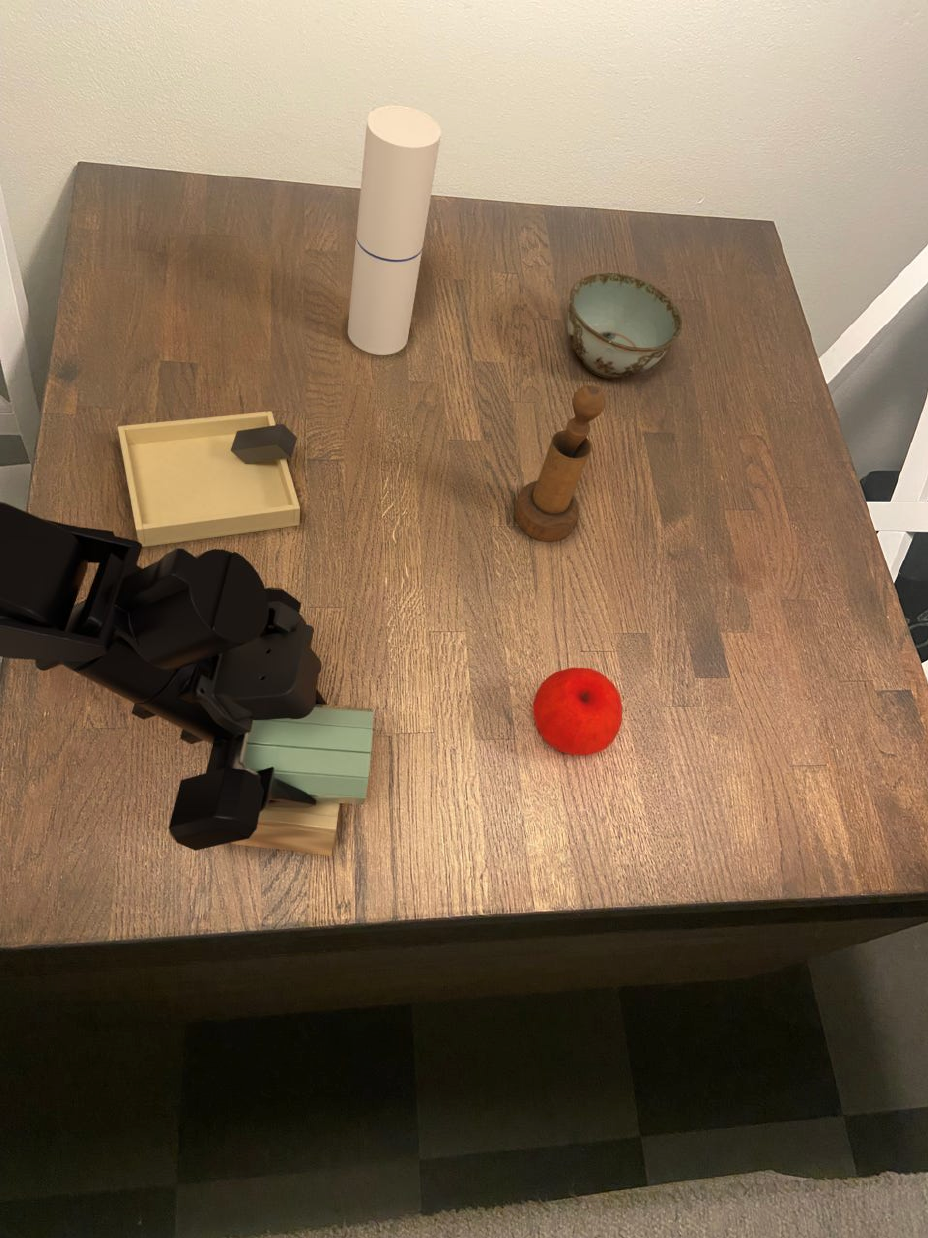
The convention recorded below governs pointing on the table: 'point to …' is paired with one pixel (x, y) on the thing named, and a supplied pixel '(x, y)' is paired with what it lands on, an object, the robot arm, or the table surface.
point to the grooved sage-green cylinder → (317, 752)
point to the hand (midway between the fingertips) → (319, 758)
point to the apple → (578, 711)
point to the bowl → (620, 324)
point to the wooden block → (296, 829)
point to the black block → (264, 444)
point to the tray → (203, 481)
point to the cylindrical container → (391, 225)
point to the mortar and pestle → (560, 474)
